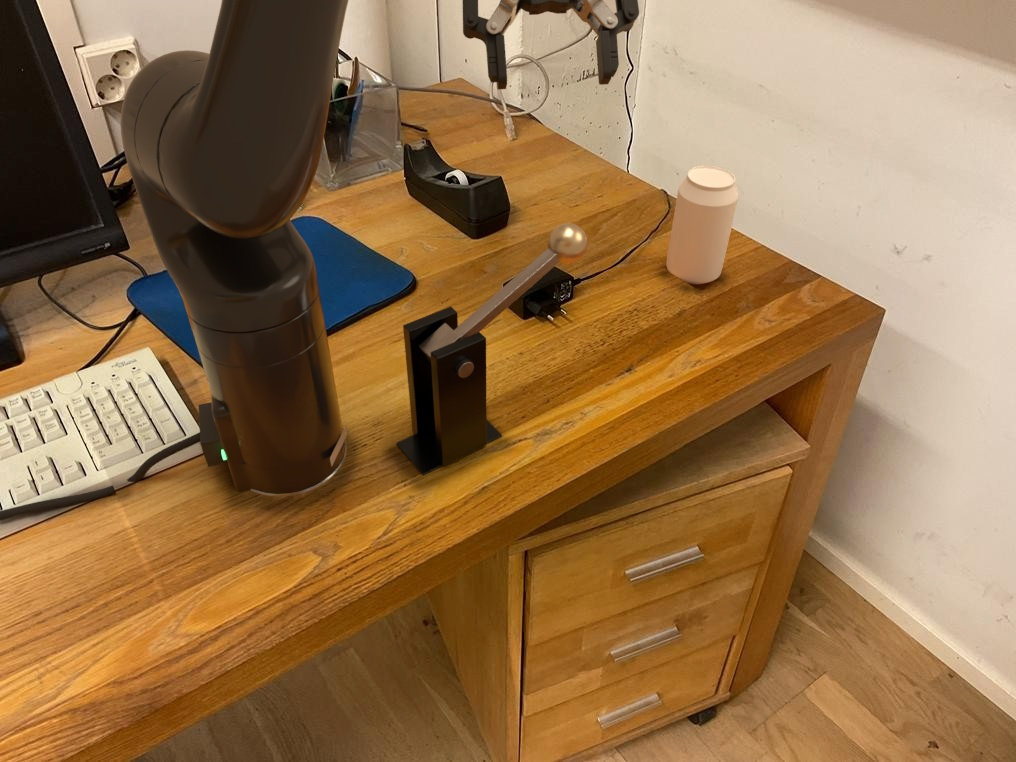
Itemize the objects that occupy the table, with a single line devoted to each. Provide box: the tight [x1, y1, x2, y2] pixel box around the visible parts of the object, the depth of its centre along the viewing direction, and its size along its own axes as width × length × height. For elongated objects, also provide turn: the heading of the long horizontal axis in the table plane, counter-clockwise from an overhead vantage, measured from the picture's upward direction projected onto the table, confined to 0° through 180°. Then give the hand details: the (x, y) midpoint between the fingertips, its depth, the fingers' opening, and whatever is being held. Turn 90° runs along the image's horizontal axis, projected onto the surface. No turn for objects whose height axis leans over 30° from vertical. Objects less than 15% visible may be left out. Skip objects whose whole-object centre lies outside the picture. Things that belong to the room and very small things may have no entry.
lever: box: [419, 222, 588, 362], centre depth 64 cm, size 16×3×3 cm, turn 126°
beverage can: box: [665, 165, 740, 285], centre depth 87 cm, size 6×6×12 cm
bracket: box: [395, 306, 503, 477], centre depth 66 cm, size 8×6×13 cm
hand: (554, 84), depth 66 cm, fingers open, 8 cm apart
